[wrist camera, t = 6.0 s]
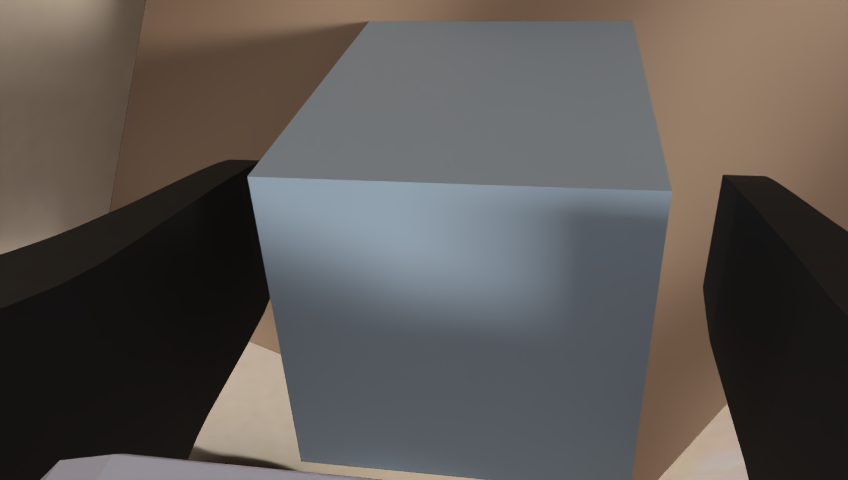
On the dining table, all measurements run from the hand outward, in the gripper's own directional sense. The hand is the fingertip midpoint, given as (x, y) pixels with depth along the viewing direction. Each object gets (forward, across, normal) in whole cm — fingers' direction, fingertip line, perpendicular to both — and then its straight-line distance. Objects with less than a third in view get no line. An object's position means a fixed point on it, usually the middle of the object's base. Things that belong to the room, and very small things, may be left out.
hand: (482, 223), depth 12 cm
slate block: (+3, 0, 0) cm, 3 cm away
